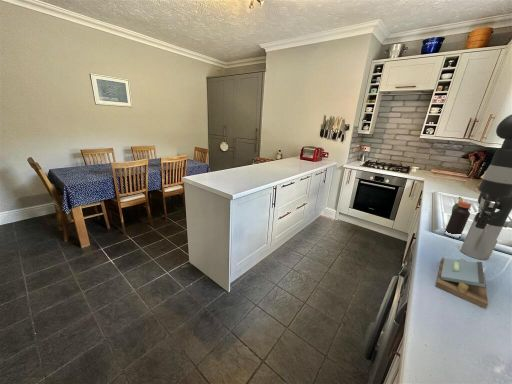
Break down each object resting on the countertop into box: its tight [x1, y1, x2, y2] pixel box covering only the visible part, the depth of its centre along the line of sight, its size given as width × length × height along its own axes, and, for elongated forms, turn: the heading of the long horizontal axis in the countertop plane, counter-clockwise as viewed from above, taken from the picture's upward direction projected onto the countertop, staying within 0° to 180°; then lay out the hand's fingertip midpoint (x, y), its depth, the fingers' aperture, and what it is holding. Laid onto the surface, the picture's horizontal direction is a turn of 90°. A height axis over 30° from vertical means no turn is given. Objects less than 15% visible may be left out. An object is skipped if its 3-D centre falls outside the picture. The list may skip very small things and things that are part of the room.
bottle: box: [444, 200, 472, 235], centre depth 114 cm, size 7×7×20 cm
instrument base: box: [435, 257, 489, 309], centre depth 80 cm, size 23×13×4 cm, turn 135°
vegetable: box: [451, 196, 464, 213], centre depth 124 cm, size 4×4×20 cm
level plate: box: [441, 257, 486, 287], centre depth 79 cm, size 17×11×3 cm, turn 135°
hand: (478, 224), depth 74 cm, fingers open, 6 cm apart
